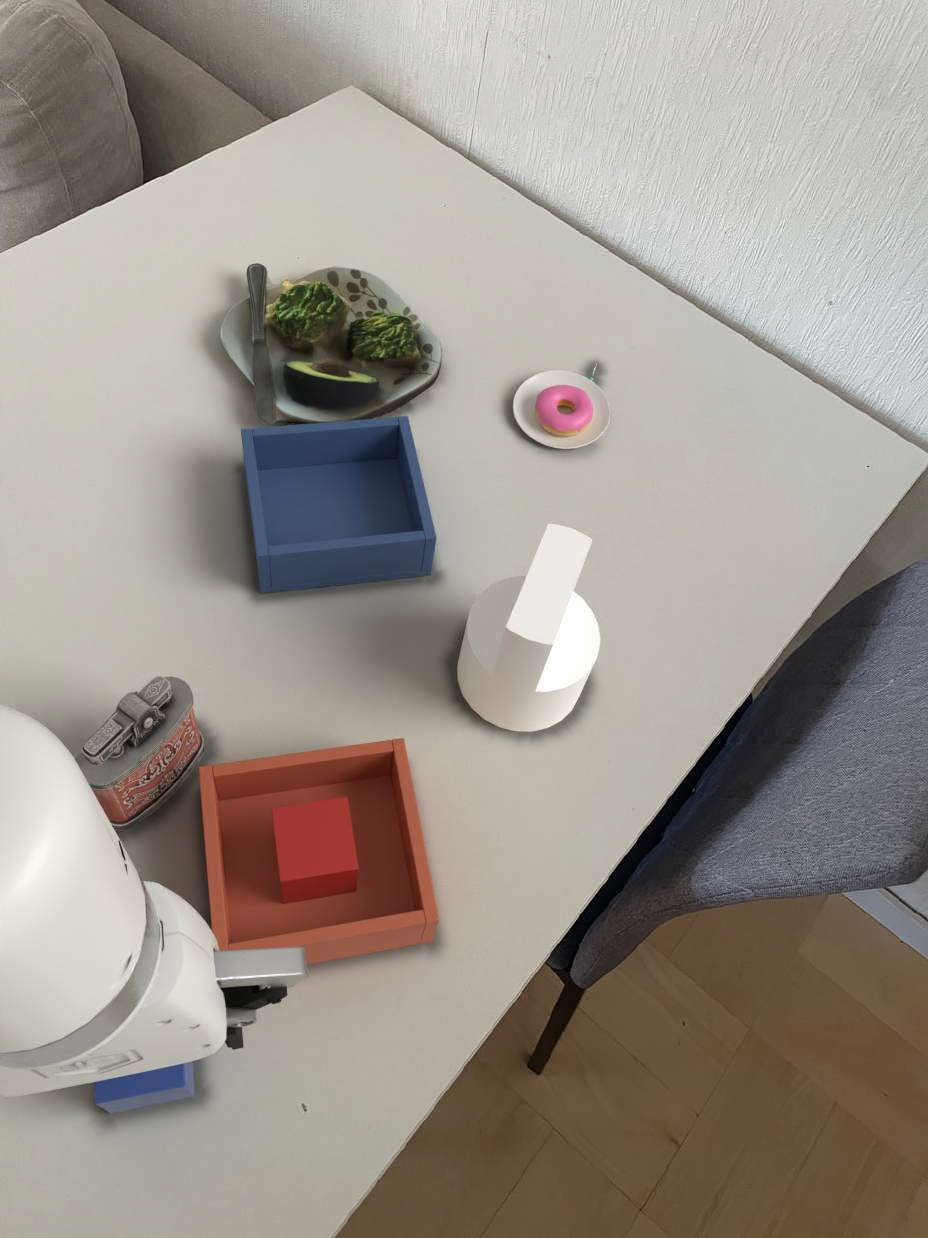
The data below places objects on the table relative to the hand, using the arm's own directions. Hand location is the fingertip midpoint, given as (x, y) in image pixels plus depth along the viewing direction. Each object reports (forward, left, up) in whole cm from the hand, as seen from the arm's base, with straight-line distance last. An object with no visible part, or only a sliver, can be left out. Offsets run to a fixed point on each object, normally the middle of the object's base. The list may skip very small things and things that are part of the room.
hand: (132, 1036), depth 49 cm
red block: (+10, +10, -9) cm, 16 cm away
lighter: (+1, +17, -10) cm, 20 cm away
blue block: (0, 0, -9) cm, 9 cm away
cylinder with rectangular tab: (+26, +21, -10) cm, 35 cm away
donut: (+36, +46, -10) cm, 59 cm away
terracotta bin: (+10, +10, -9) cm, 17 cm away
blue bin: (+15, +36, -9) cm, 40 cm away
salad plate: (+17, +53, -10) cm, 57 cm away
